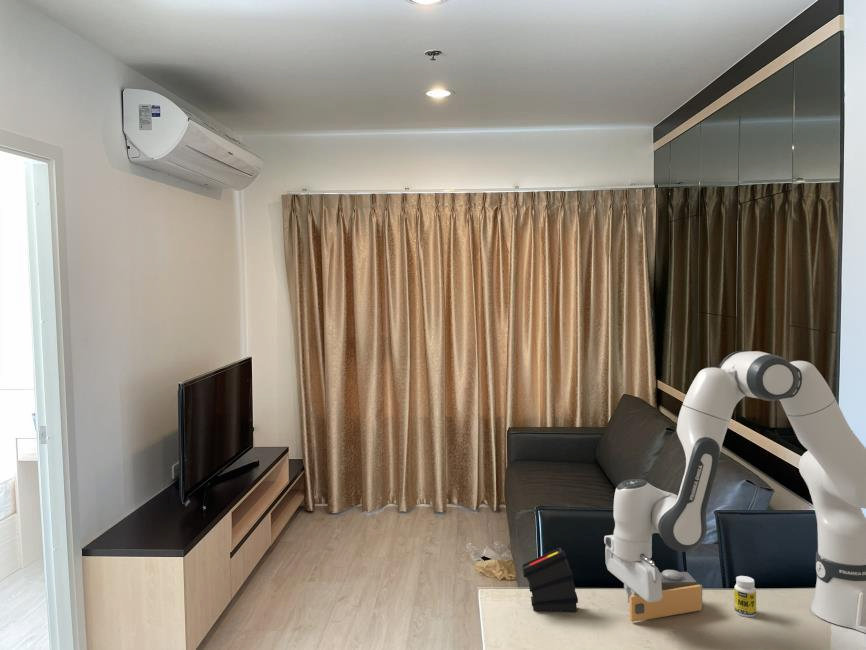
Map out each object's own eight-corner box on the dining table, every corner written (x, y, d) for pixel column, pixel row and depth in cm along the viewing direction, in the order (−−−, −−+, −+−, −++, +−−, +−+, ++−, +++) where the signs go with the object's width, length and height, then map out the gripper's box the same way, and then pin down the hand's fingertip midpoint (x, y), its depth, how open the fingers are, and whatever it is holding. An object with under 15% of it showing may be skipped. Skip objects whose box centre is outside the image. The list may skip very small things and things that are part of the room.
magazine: (590, 606, 159) (562, 552, 159) (541, 628, 160) (514, 573, 160) (588, 599, 163) (561, 546, 163) (540, 620, 164) (514, 567, 164)
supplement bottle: (736, 616, 156) (735, 581, 156) (733, 607, 160) (732, 574, 160) (757, 618, 155) (757, 583, 154) (754, 609, 159) (754, 576, 159)
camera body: (687, 598, 166) (687, 568, 165) (696, 609, 160) (696, 577, 159) (632, 599, 166) (632, 569, 165) (640, 610, 160) (639, 578, 159)
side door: (700, 608, 159) (700, 584, 159) (704, 610, 158) (704, 586, 158) (629, 620, 154) (629, 595, 154) (633, 623, 153) (632, 598, 152)
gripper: (669, 562, 147) (669, 622, 147) (623, 532, 166) (623, 585, 167) (644, 565, 145) (644, 626, 146) (600, 534, 165) (601, 587, 165)
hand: (632, 603), depth 156 cm, fingers closed
